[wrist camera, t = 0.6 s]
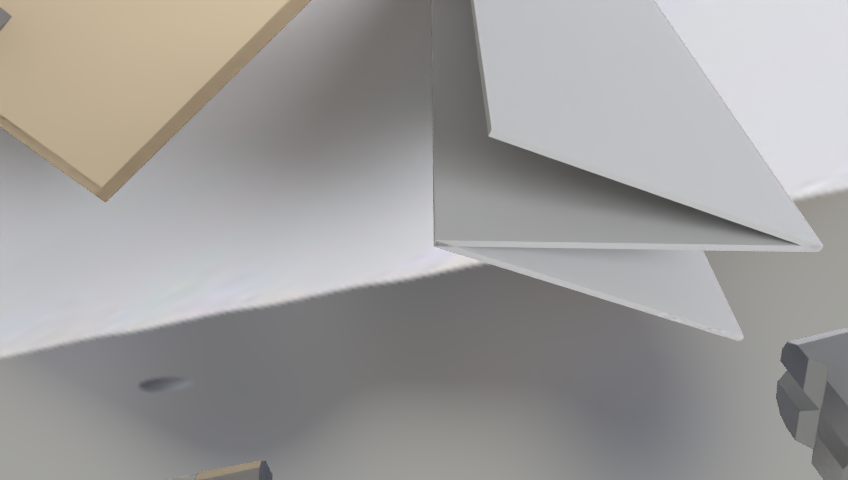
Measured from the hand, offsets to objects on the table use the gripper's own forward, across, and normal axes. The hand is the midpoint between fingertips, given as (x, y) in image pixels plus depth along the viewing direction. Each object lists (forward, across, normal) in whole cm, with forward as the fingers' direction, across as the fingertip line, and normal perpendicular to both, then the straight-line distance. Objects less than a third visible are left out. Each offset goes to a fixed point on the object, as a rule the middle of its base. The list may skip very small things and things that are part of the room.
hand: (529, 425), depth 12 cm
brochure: (+45, -12, +8) cm, 47 cm away
